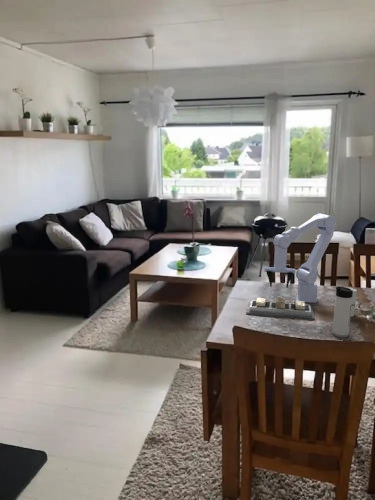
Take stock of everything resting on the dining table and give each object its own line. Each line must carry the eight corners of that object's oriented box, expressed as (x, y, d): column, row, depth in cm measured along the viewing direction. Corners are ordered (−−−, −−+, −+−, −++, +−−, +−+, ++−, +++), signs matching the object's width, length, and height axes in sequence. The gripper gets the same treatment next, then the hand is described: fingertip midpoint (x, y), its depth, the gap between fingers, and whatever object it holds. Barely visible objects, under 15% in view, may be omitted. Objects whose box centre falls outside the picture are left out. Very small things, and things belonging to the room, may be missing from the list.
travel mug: (328, 331, 170) (332, 285, 166) (344, 331, 171) (348, 284, 166) (335, 338, 164) (339, 290, 160) (351, 337, 165) (356, 289, 160)
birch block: (284, 307, 194) (284, 297, 193) (284, 312, 188) (285, 302, 187) (275, 307, 195) (276, 297, 194) (275, 311, 189) (276, 301, 188)
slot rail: (312, 309, 194) (313, 299, 193) (314, 320, 182) (315, 309, 181) (248, 304, 201) (248, 294, 200) (246, 314, 189) (246, 303, 187)
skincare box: (340, 315, 188) (342, 289, 185) (339, 311, 192) (341, 287, 189) (354, 317, 186) (357, 291, 183) (353, 313, 190) (356, 288, 187)
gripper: (264, 260, 196) (263, 288, 199) (296, 262, 193) (294, 290, 196) (265, 257, 203) (264, 283, 206) (295, 259, 200) (294, 285, 203)
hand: (278, 286), depth 201 cm, fingers open, 7 cm apart
